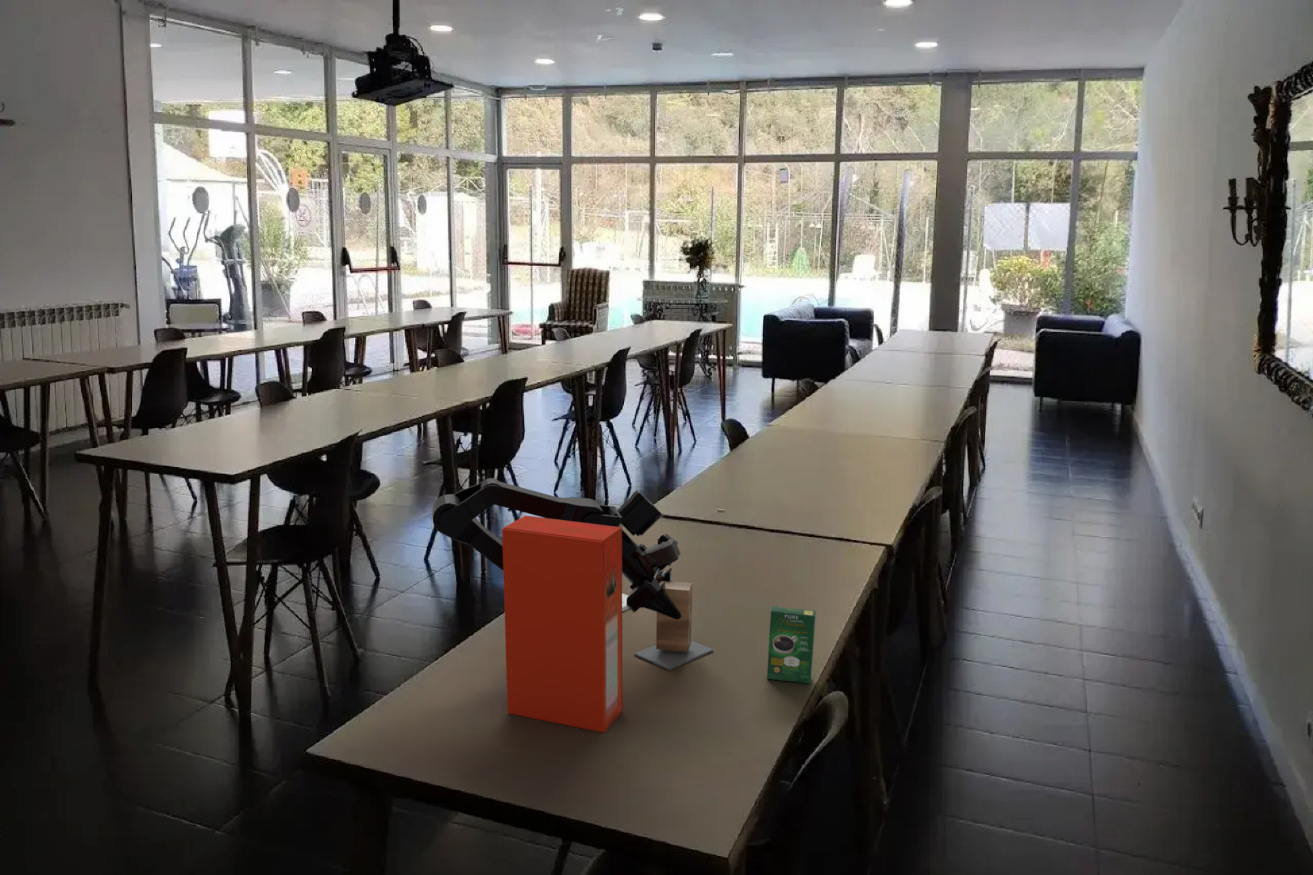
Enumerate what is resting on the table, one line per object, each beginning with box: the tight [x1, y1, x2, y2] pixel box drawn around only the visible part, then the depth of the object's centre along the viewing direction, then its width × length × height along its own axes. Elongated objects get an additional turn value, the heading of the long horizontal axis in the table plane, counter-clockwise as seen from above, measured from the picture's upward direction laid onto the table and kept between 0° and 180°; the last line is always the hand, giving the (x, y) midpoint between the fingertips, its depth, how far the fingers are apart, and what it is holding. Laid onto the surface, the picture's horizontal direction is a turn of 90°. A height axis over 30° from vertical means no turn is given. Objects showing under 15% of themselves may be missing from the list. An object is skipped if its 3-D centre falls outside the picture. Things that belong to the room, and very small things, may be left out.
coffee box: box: [766, 605, 816, 685], centre depth 180 cm, size 8×3×13 cm, turn 77°
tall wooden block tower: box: [655, 581, 693, 652], centre depth 190 cm, size 4×6×12 cm, turn 80°
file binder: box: [501, 515, 624, 733], centre depth 165 cm, size 8×17×32 cm, turn 69°
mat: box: [633, 640, 714, 671], centre depth 192 cm, size 12×9×1 cm
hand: (681, 613), depth 190 cm, fingers closed on tall wooden block tower, 4 cm apart
